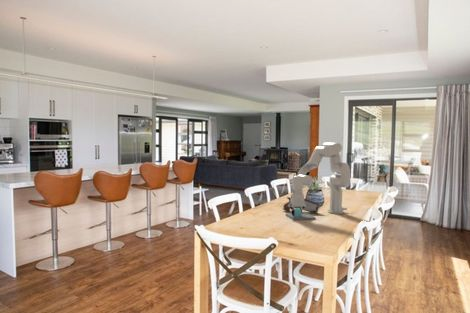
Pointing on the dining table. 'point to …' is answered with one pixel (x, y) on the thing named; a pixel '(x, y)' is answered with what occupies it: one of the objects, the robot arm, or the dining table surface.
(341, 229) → the dining table surface
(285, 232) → the dining table surface
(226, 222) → the dining table surface
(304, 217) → the board
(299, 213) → the teal rectangular block
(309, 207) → the gun
